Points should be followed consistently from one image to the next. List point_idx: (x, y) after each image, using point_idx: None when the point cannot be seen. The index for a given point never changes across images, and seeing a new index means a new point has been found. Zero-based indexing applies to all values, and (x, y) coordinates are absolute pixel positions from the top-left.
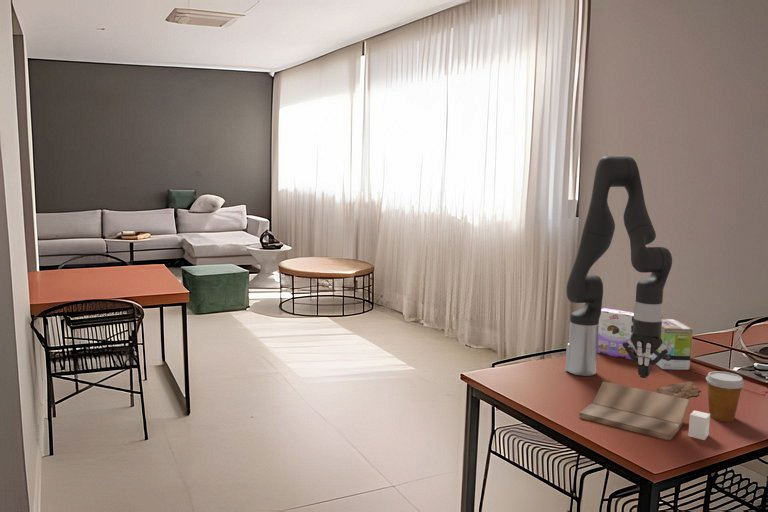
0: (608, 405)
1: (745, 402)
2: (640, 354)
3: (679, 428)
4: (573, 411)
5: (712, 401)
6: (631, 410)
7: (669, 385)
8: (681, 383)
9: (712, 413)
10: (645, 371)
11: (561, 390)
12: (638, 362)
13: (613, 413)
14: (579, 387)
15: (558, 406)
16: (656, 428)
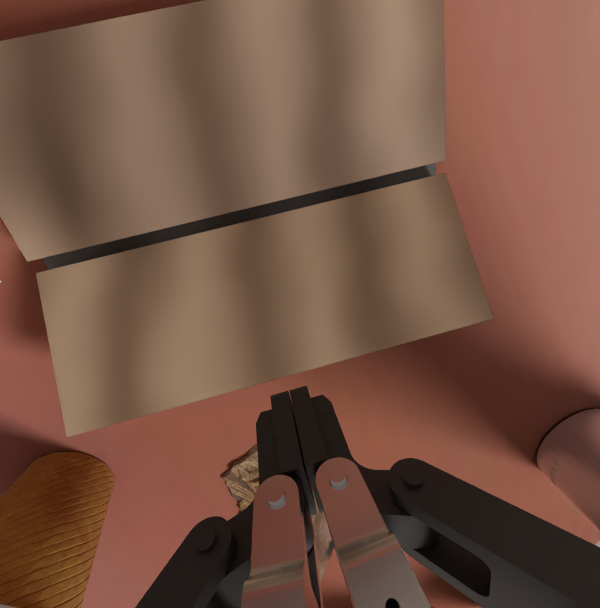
0: (376, 198)
1: (127, 602)
2: (370, 579)
3: (43, 259)
4: (481, 49)
5: (39, 511)
6: (269, 225)
7: (332, 542)
8: (320, 573)
9: (68, 466)
10: (276, 431)
11: (592, 251)
12: (357, 470)
13: (308, 116)
14: (544, 331)
15: (558, 52)
16: (28, 93)
